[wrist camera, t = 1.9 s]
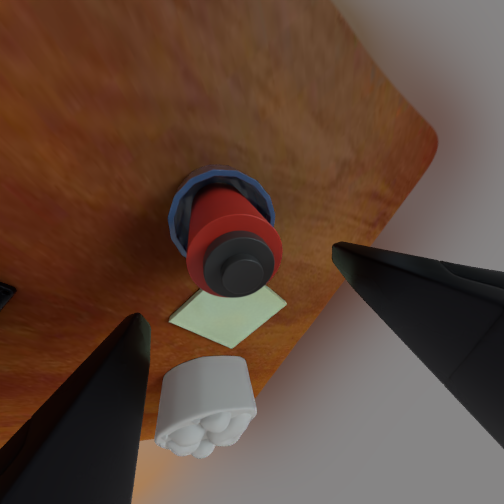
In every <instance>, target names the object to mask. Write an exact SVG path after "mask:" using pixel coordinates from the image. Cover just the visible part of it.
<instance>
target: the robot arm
mask: <svg viewBox="0 0 504 504" xmlns="http://www.w3.org/2000/svg"><path fill="white" fill-rule="evenodd" d="M332 261H333V263H334V264H335V266H336V267H337V268H338V270H339V271H340V272H341V273H342V275H343V276H344V277H345V279H346V280H347V281H348V283H349V284H350V285H351V286H352V287H353V289H354V290H355V291H356V292H357V293H358V294H359V295H360V296H361V297H362V298H363V300H364V301H366V303H367V304H368V305H369V306H370V307H371V308H372V309H373V310H374V311H375V312H376V313H377V314H378V315H379V317H380V318H381V319H382V320H384V322H385V323H386V324H387V325H388V326H389V327H390V328H391V329H392V330H393V331H394V332H395V334H397V336H398V337H399V338H400V339H401V340H402V341H403V342H404V343H405V344H406V345H407V346H408V347H409V348H410V350H412V352H413V353H414V354H415V355H416V356H417V357H418V358H419V359H420V360H421V361H422V362H423V363H424V364H425V365H426V367H428V369H429V370H430V371H431V372H432V373H433V374H434V375H435V376H436V377H437V378H438V379H439V380H440V381H441V382H442V383H443V384H444V386H445V387H446V388H447V389H448V390H449V391H450V392H451V393H452V394H453V395H454V397H455V398H457V400H458V401H459V402H460V403H461V404H462V405H463V406H464V407H465V408H466V409H467V410H468V411H469V412H470V414H471V415H472V416H473V417H474V418H475V419H476V420H477V421H478V422H479V423H480V424H481V425H482V426H483V427H484V428H485V429H486V431H488V433H489V434H490V435H491V436H492V437H493V438H494V439H495V440H496V441H497V442H498V443H499V444H500V445H501V446H502V447H503V449H504V272H501V271H495V270H489V269H482V268H476V267H471V266H465V265H460V264H454V263H449V262H444V261H438V260H434V259H428V258H424V257H418V256H413V255H408V254H403V253H398V252H393V251H388V250H383V249H378V248H373V247H368V246H363V245H358V244H352V243H347V242H338V243H335V244H333V246H332ZM7 291H8V292H7ZM16 292H17V290H16V288H15V287H13V286H10V285H7V284H5V283H2V282H0V311H1V310H2V309H3V308H4V306H5V305H6V304H7V303H8V302H9V300H10V299H11V298H12V297H13V296H14V294H15V293H16ZM150 339H151V327H150V325H149V323H148V322H147V321H146V319H145V318H144V317H143V316H142V315H141V314H140V313H134V314H131V315H129V316H127V317H126V318H125V319H124V320H123V321H122V322H121V323H120V324H119V325H118V326H117V327H116V328H115V329H114V330H113V332H112V333H111V334H110V335H109V336H108V337H107V338H106V339H105V340H104V341H103V342H102V343H101V344H100V345H99V346H98V347H97V348H96V349H95V350H94V351H93V353H92V354H91V355H90V356H89V357H88V358H87V359H86V360H85V361H84V362H83V363H82V364H81V365H80V366H79V367H78V368H77V369H76V370H75V371H74V372H73V374H72V375H71V376H70V377H69V378H68V379H67V380H66V381H65V382H64V383H63V384H62V385H61V386H60V387H59V388H58V389H57V390H56V391H55V392H54V393H53V395H52V396H51V397H50V398H49V399H48V400H47V401H46V402H45V403H44V404H43V405H42V406H41V407H40V408H39V409H38V410H37V411H36V412H35V413H34V414H33V416H32V417H31V419H29V420H28V421H27V422H26V423H25V424H24V425H23V426H22V427H21V428H20V429H19V430H18V431H17V432H16V433H15V434H14V435H13V436H12V438H11V439H10V440H9V441H8V442H7V443H6V444H5V445H4V446H3V447H2V448H1V449H0V504H131V500H132V492H133V486H134V478H135V470H136V463H137V456H138V449H139V441H140V434H141V426H142V419H143V411H144V404H145V397H146V389H147V382H148V374H149V366H150Z"/></svg>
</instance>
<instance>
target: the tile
mask: <svg viewBox="0 0 504 504" xmlns="http://www.w3.org/2000/svg"><path fill="white" fill-rule="evenodd" d="M285 305H287V303H286V302H285V300H284V299H282V298H281V297H280V296H279V295H277V294H276V293H275V292H274V291H272V290H271V289H270V288H269V287H267V286H266V285H265V286H263V287H262V288H261V289H260V290H258V291H257V292H255V293H253V294H251V295H248V296H245V297H239V298H225V297H219V296H214V295H212V294H209V293H207V292H205V291H204V290H202V289H200V290H198V291H197V292H196V293H195V294H194V295H193V296H192V297H191V298H190V299H189V300H188V301H186V302H185V303H184V304H183V305H182V306H181V307H180V308H179V309H178V310H177V311H176V312H174V313H173V314H172V315H171V316H170V319H169V322H171V323H173V324H175V325H178V326H180V327H182V328H185V329H187V330H189V331H192V332H194V333H196V334H199V335H201V336H203V337H206V338H208V339H210V340H213V341H215V342H217V343H220V344H222V345H224V346H227V347H229V348H231V349H232V348H233V347H235V346H236V345H237V344H238V343H240V342H241V341H242V340H243V339H245V338H246V337H247V336H248V335H250V334H251V333H252V332H253V331H255V330H256V329H257V328H258V327H259V326H261V325H262V324H263V323H264V322H266V321H267V320H268V319H269V318H271V317H272V316H273V315H274V314H276V313H277V312H278V311H279V310H281V309H282V308H283V307H284V306H285Z"/></svg>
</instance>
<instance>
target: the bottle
mask: <svg viewBox="0 0 504 504" xmlns="http://www.w3.org/2000/svg"><path fill="white" fill-rule="evenodd" d="M281 259H282V243H281V239H280V237H279V235H278V233H277V231H276V230H275V229H274V228H273V226H272V225H271V224H270V223H269V222H268V221H267V220H266V219H265V218H264V217H263V216H262V215H261V214H260V213H259V212H258V211H257V210H256V208H255V207H254V206H253V205H252V204H251V203H250V202H249V201H248V200H247V199H246V198H245V197H244V196H243V195H242V194H241V193H240V192H239V191H238V190H237V189H236V188H235V187H233V186H231V185H229V184H226V183H212V184H209V185H207V186H205V187H203V188H202V189H200V190H199V191H198V193H197V194H196V195H195V197H194V199H193V202H192V207H191V216H190V226H189V236H188V246H187V256H186V264H187V269H188V272H189V275H190V277H191V278H192V280H193V281H194V283H195V284H196V285H197V286H198V287H199V288H201V289H202V290H204V291H205V292H207V293H209V294H212V295H214V296H219V297H225V298H239V297H245V296H248V295H251V294H253V293H255V292H257V291H258V290H260V289H261V288H262V287H263V286H265V285H266V284H267V283H268V282H269V281H270V280H271V279H272V278H273V276H274V275H275V273H276V272H277V270H278V268H279V266H280V263H281Z"/></svg>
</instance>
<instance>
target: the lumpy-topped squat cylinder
mask: <svg viewBox="0 0 504 504" xmlns="http://www.w3.org/2000/svg"><path fill="white" fill-rule="evenodd" d="M256 414H257V409H256V404H255V400H254V395H253V391H252V386H251V382H250V378H249V373H248V369H247V364H246V361H245V359H243V358H241V357H237V356H208V357H201V358H197V359H194V360H191V361H188V362H185V363H182V364H180V365H178V366H176V367H174V368H173V369H171V370H170V371H169V372H167V373H166V374H165V376H164V378H163V384H162V391H161V397H160V404H159V412H158V418H157V425H156V432H155V443H156V444H157V445H158V446H160V447H162V448H165V449H170V450H171V451H172V452H173V453H174V454H176V455H178V456H186V455H189V454H192V455H193V456H194V457H196V458H199V459H201V458H205V457H207V456H209V455H210V454H211V452H212V451H213V450H214V447H215V445H216V446H229V445H232V444H234V443H235V442H237V440H239V438H240V436H241V434H242V433H243V432H244V431H245V430H246V428H247V426H248V424H249V422H250V421H251V420H252V419H253V418H254V417H255V415H256Z"/></svg>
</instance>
